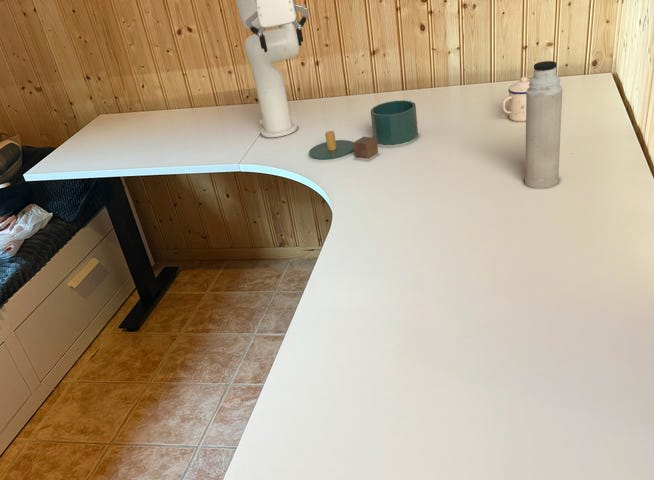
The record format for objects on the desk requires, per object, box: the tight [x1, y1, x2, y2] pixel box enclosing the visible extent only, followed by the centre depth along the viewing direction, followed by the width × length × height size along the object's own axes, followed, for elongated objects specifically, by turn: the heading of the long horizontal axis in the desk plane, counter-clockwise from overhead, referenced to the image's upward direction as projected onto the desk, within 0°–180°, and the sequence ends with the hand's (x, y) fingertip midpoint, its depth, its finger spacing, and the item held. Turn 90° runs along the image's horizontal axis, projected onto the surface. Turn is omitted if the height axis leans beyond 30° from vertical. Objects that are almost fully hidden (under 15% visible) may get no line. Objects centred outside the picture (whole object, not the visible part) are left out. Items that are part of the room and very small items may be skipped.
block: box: [352, 136, 379, 160], centre depth 197 cm, size 5×5×5 cm
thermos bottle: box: [524, 60, 563, 189], centre depth 158 cm, size 8×8×28 cm
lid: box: [308, 130, 354, 161], centre depth 204 cm, size 15×15×6 cm
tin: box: [370, 99, 419, 146], centre depth 204 cm, size 14×14×10 cm
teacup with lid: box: [501, 76, 530, 122], centre depth 202 cm, size 12×9×12 cm
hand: (283, 48), depth 184 cm, fingers open, 9 cm apart
